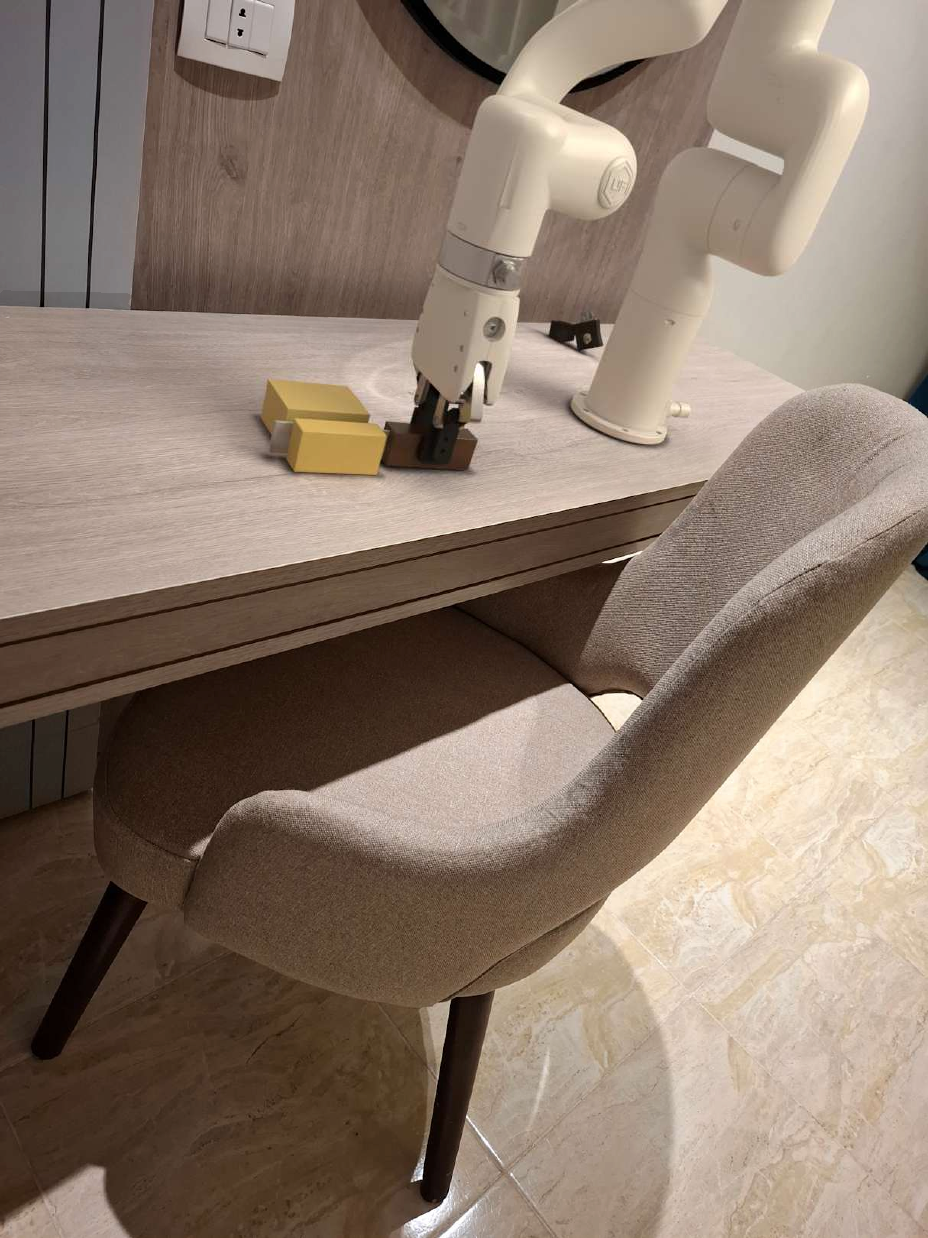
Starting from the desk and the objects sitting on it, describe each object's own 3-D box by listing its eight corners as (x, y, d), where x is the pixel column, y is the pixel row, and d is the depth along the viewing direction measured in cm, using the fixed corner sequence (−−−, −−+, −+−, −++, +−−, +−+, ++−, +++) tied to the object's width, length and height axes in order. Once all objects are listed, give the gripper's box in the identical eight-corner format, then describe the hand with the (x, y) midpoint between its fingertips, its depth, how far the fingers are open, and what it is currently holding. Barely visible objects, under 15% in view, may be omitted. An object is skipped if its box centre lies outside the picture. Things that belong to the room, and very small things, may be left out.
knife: (457, 458, 91) (467, 428, 89) (467, 470, 89) (478, 439, 87) (264, 445, 80) (271, 410, 78) (272, 458, 79) (280, 423, 77)
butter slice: (367, 462, 84) (377, 423, 82) (376, 475, 83) (387, 436, 81) (285, 458, 80) (293, 417, 78) (293, 472, 79) (302, 430, 77)
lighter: (549, 356, 136) (544, 320, 135) (556, 354, 138) (550, 319, 136) (598, 347, 132) (592, 310, 130) (603, 345, 133) (598, 309, 132)
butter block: (338, 423, 90) (347, 385, 87) (360, 452, 86) (370, 414, 83) (260, 417, 85) (267, 378, 83) (280, 449, 81) (287, 408, 79)
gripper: (565, 304, 74) (496, 499, 84) (478, 238, 84) (426, 418, 94) (487, 292, 70) (425, 497, 80) (406, 224, 80) (360, 413, 90)
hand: (426, 453), depth 87 cm, fingers closed on knife, 2 cm apart
